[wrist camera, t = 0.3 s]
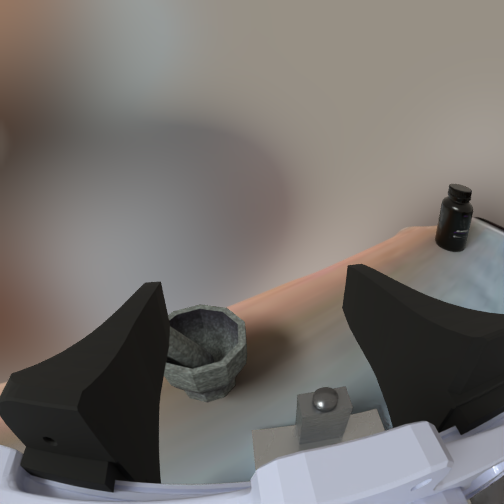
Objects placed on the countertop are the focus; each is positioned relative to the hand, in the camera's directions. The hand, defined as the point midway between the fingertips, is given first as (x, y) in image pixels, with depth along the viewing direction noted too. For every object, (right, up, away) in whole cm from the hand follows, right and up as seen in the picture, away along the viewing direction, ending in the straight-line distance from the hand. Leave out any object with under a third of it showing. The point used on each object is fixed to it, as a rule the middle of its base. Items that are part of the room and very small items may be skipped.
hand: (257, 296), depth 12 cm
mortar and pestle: (-6, -13, +21) cm, 25 cm away
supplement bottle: (+39, +3, +42) cm, 58 cm away
